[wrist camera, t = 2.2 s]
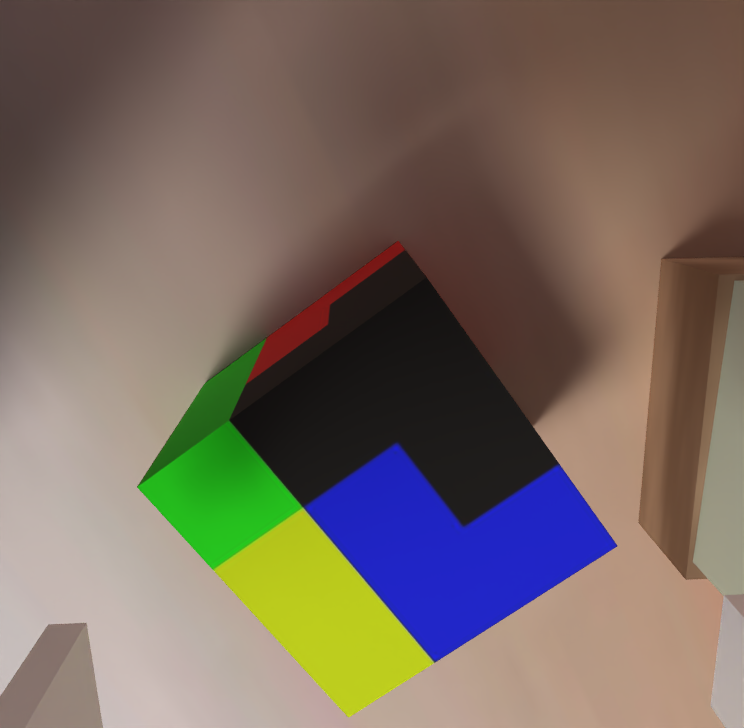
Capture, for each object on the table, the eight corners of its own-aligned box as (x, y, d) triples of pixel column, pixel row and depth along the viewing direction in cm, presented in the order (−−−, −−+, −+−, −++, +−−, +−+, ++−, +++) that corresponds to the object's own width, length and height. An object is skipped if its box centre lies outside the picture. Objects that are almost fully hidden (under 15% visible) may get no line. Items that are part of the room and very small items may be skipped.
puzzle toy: (530, 427, 30) (617, 545, 21) (346, 551, 32) (348, 717, 22) (397, 240, 28) (426, 277, 18) (205, 383, 29) (137, 486, 20)
